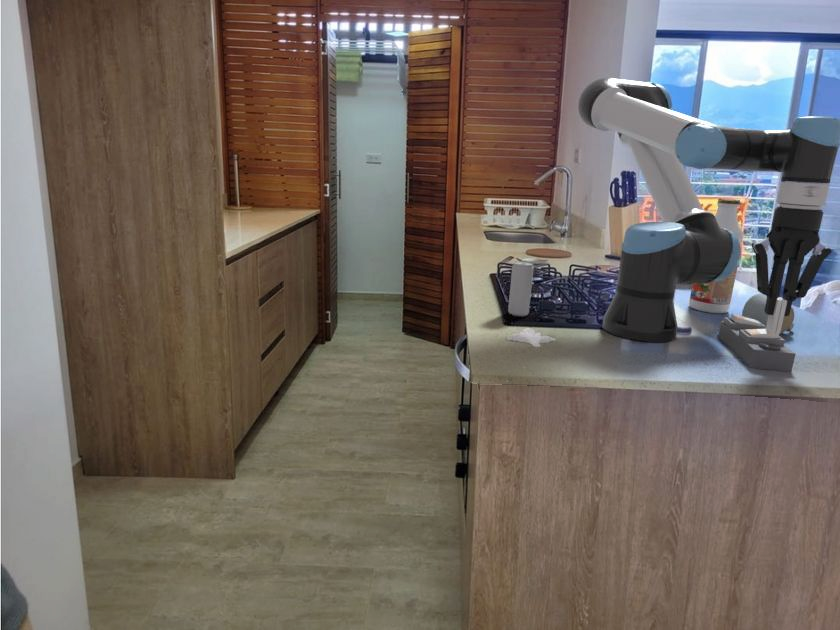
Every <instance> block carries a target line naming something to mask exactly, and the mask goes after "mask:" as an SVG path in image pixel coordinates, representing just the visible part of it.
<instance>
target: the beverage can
mask: <svg viewBox="0 0 840 630" xmlns="http://www.w3.org/2000/svg"><path fill="white" fill-rule="evenodd" d="M534 270H535V269H534V263H533V262H529V261H521V260H519V261H513V263H512V267H511V275H510V276H511V277H510V288H509V298H508V307H507V308H508V310H507V311H508V314H509V315H511V314H512V316H514V315H515V316H514V317H526V316H528V315H529V313H530V303H531V294H532V287H533V285H532V284H533V277H534Z"/></svg>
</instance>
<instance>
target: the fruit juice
mask: <svg viewBox="0 0 840 630" xmlns="http://www.w3.org/2000/svg"><path fill="white" fill-rule="evenodd" d="M740 205H741V200H740V199H735V198H734V199H733V198H721V197H720V198H718V199H717V210H716V213H715V215H714V216H715V218H716V220H717V222H718V224H719V227H720V228H721V229H727V230H729V231H731V232H733V233H734V234H735V235H736V236H737V238H738V240H739V242H740V245H741V243H742V242H743V240H744V239H743V238H744V231H743V229H742V228H741V226H740V224H739V221H738V208H739V207H740ZM739 261H740V260H738V265H737V267H736V269H735V270H734V271H733V273H732V274H731V275H730V276H728V277H727V278H725V279H723V280H721V281H717V282H711V283H707V284H704V283H691V284H692V285H691V291H690V297H689V301H688V305H689V307H690V308H691V309H693V310H697V311H699V312H703V313H711V314H725V313H728V312H729V309H730V305H731V301H732V297H733V291H734V287H735V282H736V277H737V272H738V267H739V263H740V262H739Z"/></svg>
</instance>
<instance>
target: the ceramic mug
mask: <svg viewBox="0 0 840 630" xmlns="http://www.w3.org/2000/svg"><path fill="white" fill-rule="evenodd" d="M766 300H767V296H766V295H764V294H762V293H757V294H754V295H752V296H750V297H749V298H748V300H747V301H746V302H745V304H744V305H743V308H742V311H741V312H742V313H741V316H743V317H747V318H751V319H755V320H758V321H759V322H761V323H762V324H763V325H765V326H766V324H767V320H768V315H767V314H766V313H765V311H764V310H765V305H766ZM794 320H795V312H794V309H793V306H791V310H790V314H789V316H784V318H783V323H782V327H781V332H780V334H783V333H785V332H787V331H792V329H793V328H794V326H795V324H794V323H793V322H794ZM765 329H766V328H765Z"/></svg>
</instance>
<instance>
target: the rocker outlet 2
mask: <svg viewBox="0 0 840 630" xmlns="http://www.w3.org/2000/svg"><path fill="white" fill-rule="evenodd" d="M745 333H746V334H747V335H749V336H753V337H763V338H779V336H780V334H779V333H770V332H769V331H767V330H766V329H748V330H745Z"/></svg>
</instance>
